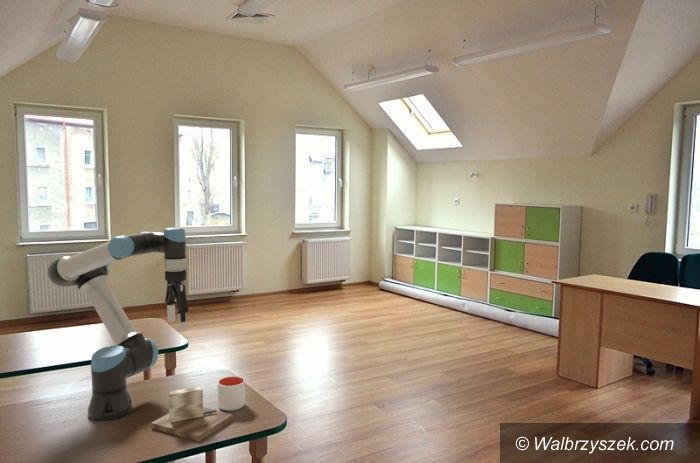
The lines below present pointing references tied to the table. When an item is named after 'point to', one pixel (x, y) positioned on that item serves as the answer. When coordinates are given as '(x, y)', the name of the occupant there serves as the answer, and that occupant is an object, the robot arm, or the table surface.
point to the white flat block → (186, 404)
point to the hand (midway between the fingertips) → (176, 326)
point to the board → (193, 425)
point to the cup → (231, 393)
